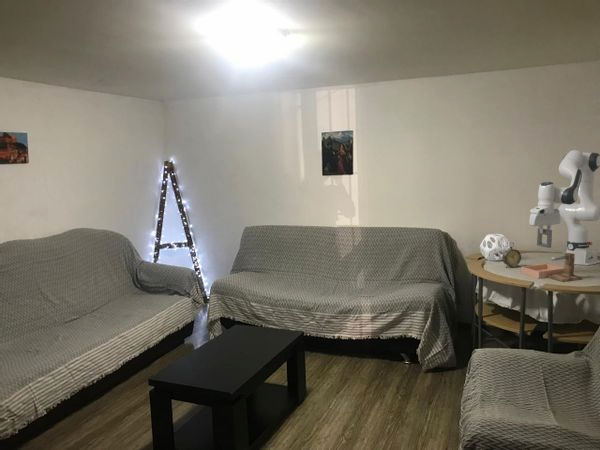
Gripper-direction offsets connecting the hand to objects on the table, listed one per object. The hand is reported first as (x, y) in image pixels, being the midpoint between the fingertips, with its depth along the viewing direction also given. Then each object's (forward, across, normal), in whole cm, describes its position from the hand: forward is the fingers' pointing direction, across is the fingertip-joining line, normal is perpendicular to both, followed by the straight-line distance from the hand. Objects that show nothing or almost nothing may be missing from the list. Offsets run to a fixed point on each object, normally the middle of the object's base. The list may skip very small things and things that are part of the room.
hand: (544, 232), depth 285 cm
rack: (+25, -2, +13) cm, 29 cm away
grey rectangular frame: (+8, 0, 0) cm, 8 cm away
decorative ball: (+26, -2, -44) cm, 51 cm away
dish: (+25, 0, 0) cm, 25 cm away
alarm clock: (+26, +4, -22) cm, 34 cm away
